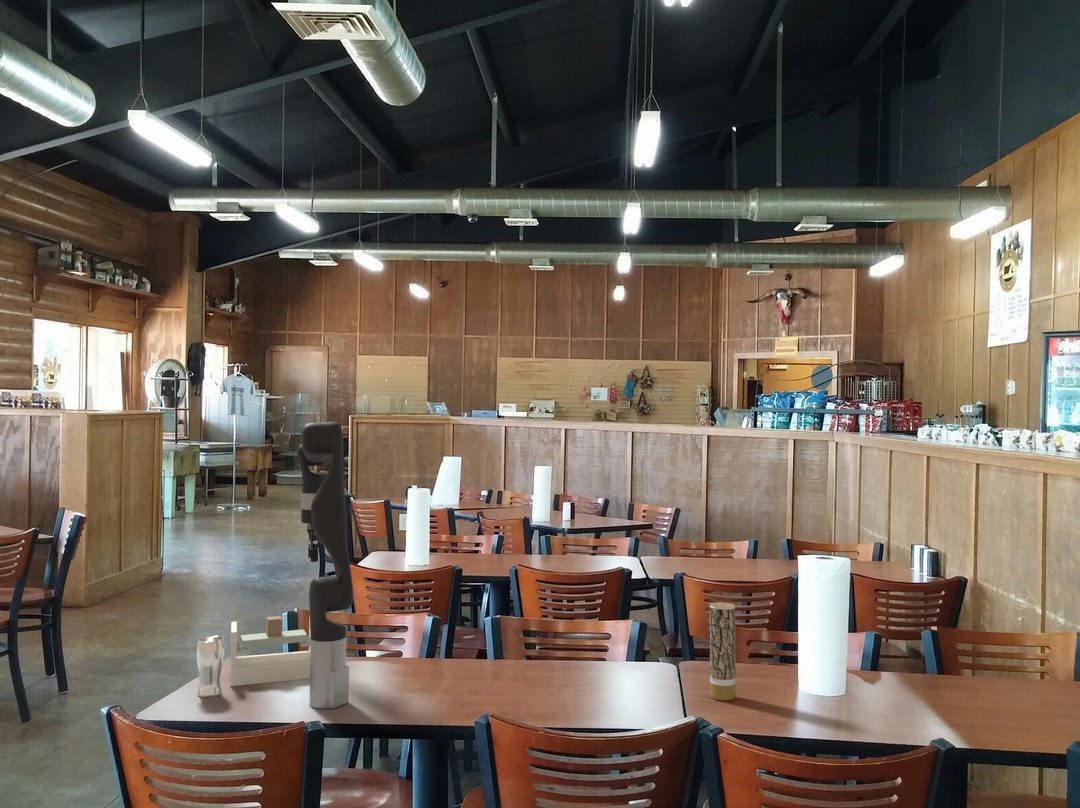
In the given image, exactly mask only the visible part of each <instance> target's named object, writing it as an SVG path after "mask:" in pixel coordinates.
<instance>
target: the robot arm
mask: <svg viewBox="0 0 1080 808" xmlns="http://www.w3.org/2000/svg"><path fill="white" fill-rule="evenodd" d="M300 438H301V444H300V445H299V446H298V447H297V450H296V458H297V461H298V465H299V468H300V471H301V479H302V482H301V483H302V488H301V489H302V494H301V499H300V500H301V504H300V505H301V506H300V511H301V512H300V521H301V523H302V524H305V525H306V524H307V525H306V527H307V528H306V543H307V546H308V547H307V549H308V550H307V554H308V555H307V557H308V558H309V559H310V562H311V563H318V562H319V549H320V547H321V545H320V543H321V544H322V546H323V547H324V548H325V550H326V551H327V552H328V554H329V556H330V559H331V561H332V563H333V566H334V572H335V575H331V576H330V575H329V576H319V577H315V578H313V579H312V580H311V581H310V583H309V588H308V589H309V590H308V597H309V598H308V599H309V600H308V601H309V603H308V604H309V616H310V632H311V639H310V679H309V706H310V707H312V708H315V709H336V708H338V707H340V706H342V705H345V704H347V703H349V700H350V699H349V694H350V693H349V691H350V689H349V688H350V686H349V685H350V682H349V681H350V666H349V665H347V627H346V625H344V624H343V623H340V622H335V621H332V620H329V619H327V613H331V612H339V611H346V610H349V609H350V608H351V607H352V605H353V601H354V585H353V578H352V573H351V572H352V571H351V563H350V556H349V544H348V518H347V503H346V492H345V483H344V482H345V481H344V480H345V479H344V433H343V428H342V425H341V423H340V422H338V421H321V422H309V423H306V424H305V425H304V426H302V430H301V437H300ZM327 465H330V466H329V468H328V470H327V473H326V475H324V474H322V473H319V472H318V473H317V472H315V471H311V470H310V467H323V466H327Z"/></svg>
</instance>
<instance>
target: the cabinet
mask: <svg viewBox="0 0 1080 808" xmlns="http://www.w3.org/2000/svg"><path fill="white" fill-rule="evenodd" d="M308 618H309V619H308V620H309V622H308V623H309V626H308V636H307V641H306V642H299V643H300V647H301V648H302V647H303V648H304V647H308V650H304V651H303V650H302V651H301V650H300V651H292V652H290V651H289V652H280V653H279V652H278V653H269V654H267V653H266V654H258V655H257V654H256V655H243V656H237V653H242V652H243V653H244V652H248V649H249V647H246V648H243V647H242V645H241V642H238V641H237V639H238V624H237V623H238V622H237V621H231V624H230V626H231V628H230V681H229V682H230V685H229V686H230V687H235V686H236V687H237V686H248V685H258V684H266V683H277V682H278V683H280V682H286V681H287V682H289V681H298V680H310V639H311V632H310V615H309V617H308Z"/></svg>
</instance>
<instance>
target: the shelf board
mask: <svg viewBox="0 0 1080 808" xmlns="http://www.w3.org/2000/svg"><path fill="white" fill-rule="evenodd" d="M307 637H308V634H307V632H306V631H305V629H293V630H285V631H283V618H282V616H281V615H276V616H266V618H265V632H263V633H252V634H243V635H242V634H241V635H240V637H239V638H240V642H239V643H241V645H242V647H243V648H246V647H248V648H255V647H264V646H274V645H284V644H285V645H286V644H297V643H300V642H306V641H307Z"/></svg>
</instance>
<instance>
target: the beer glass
mask: <svg viewBox="0 0 1080 808" xmlns="http://www.w3.org/2000/svg"><path fill="white" fill-rule="evenodd" d="M224 640H225V639H224V636H221V635H209V636H202V637H200V638H198V639H197V647H196V662H197V663H196V664H197V670H198V677H199V686H198V687H199V688H198V692H197V696H198V697H199V698H213V697H217V696H220V695H221V694H222V692H223V691H222V685H221V679H222V670H223V666H224V662H225V661H224V659H225V642H224Z"/></svg>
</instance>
